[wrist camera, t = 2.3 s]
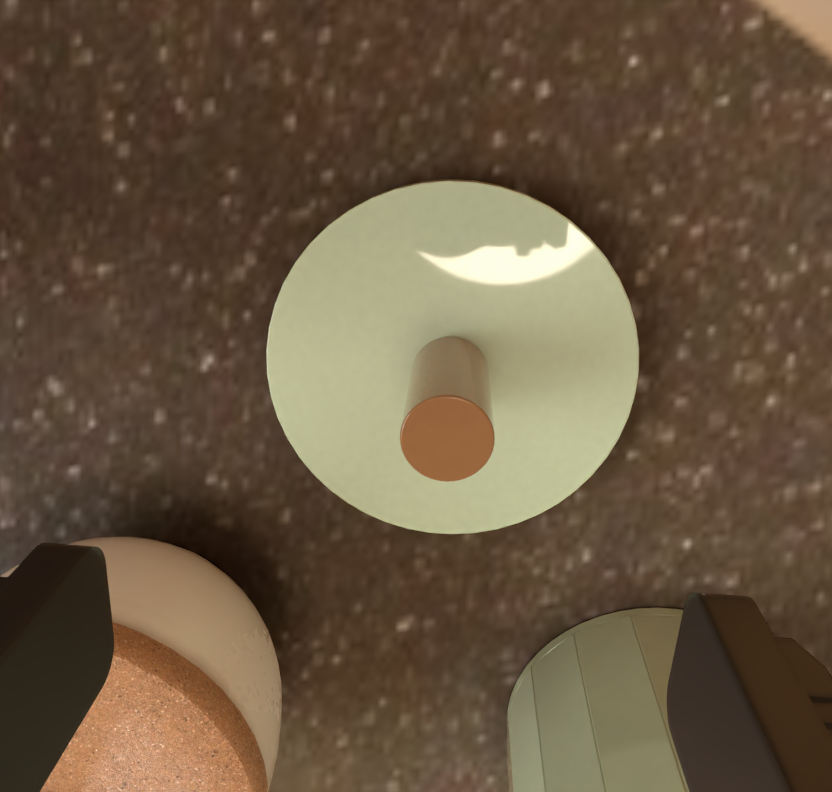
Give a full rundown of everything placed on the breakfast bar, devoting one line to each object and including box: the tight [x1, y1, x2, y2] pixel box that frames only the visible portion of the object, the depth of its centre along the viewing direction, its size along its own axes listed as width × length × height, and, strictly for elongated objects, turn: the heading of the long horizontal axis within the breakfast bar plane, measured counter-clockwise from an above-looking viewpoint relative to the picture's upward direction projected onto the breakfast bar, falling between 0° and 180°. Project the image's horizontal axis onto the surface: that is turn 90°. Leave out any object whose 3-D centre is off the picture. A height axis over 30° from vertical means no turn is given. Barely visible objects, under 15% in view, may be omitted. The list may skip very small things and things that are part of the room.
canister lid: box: [266, 179, 639, 534], centre depth 25 cm, size 13×13×7 cm
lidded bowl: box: [0, 537, 282, 792], centre depth 27 cm, size 13×13×11 cm
